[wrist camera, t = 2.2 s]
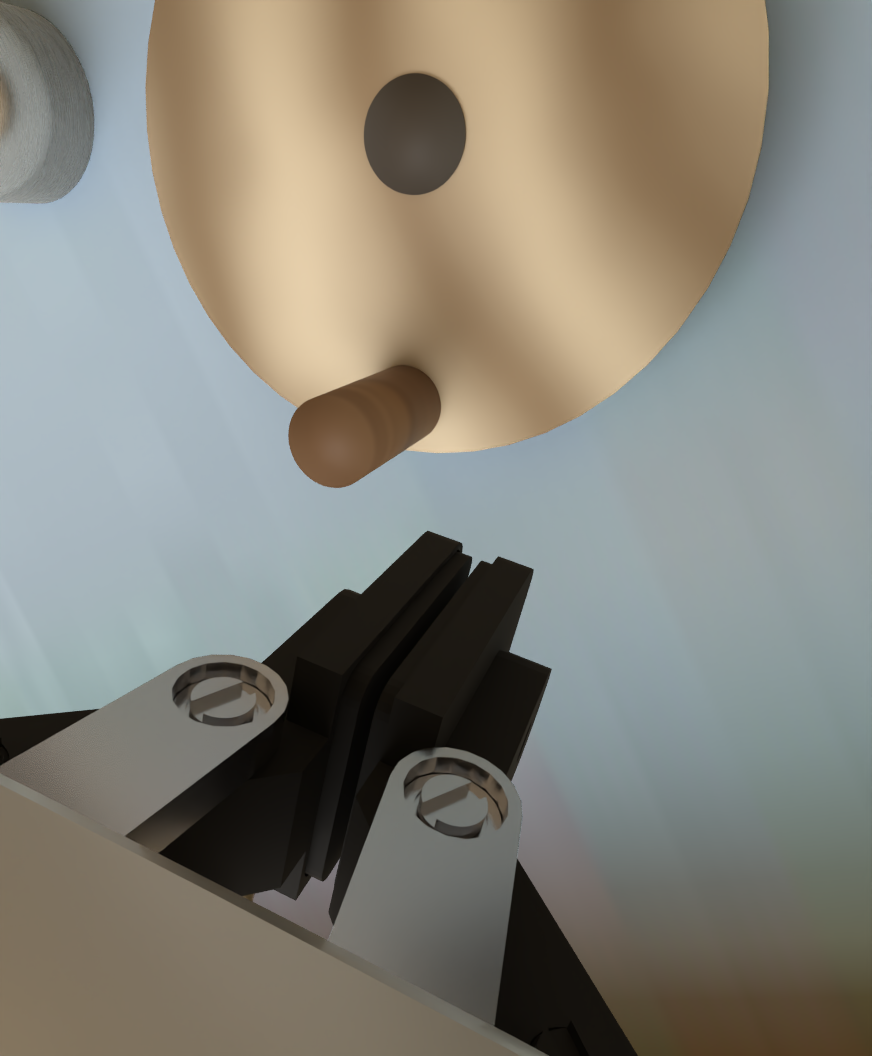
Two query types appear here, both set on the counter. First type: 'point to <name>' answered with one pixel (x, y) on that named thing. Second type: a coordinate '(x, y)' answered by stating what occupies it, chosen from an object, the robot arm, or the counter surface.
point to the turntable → (450, 200)
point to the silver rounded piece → (40, 110)
